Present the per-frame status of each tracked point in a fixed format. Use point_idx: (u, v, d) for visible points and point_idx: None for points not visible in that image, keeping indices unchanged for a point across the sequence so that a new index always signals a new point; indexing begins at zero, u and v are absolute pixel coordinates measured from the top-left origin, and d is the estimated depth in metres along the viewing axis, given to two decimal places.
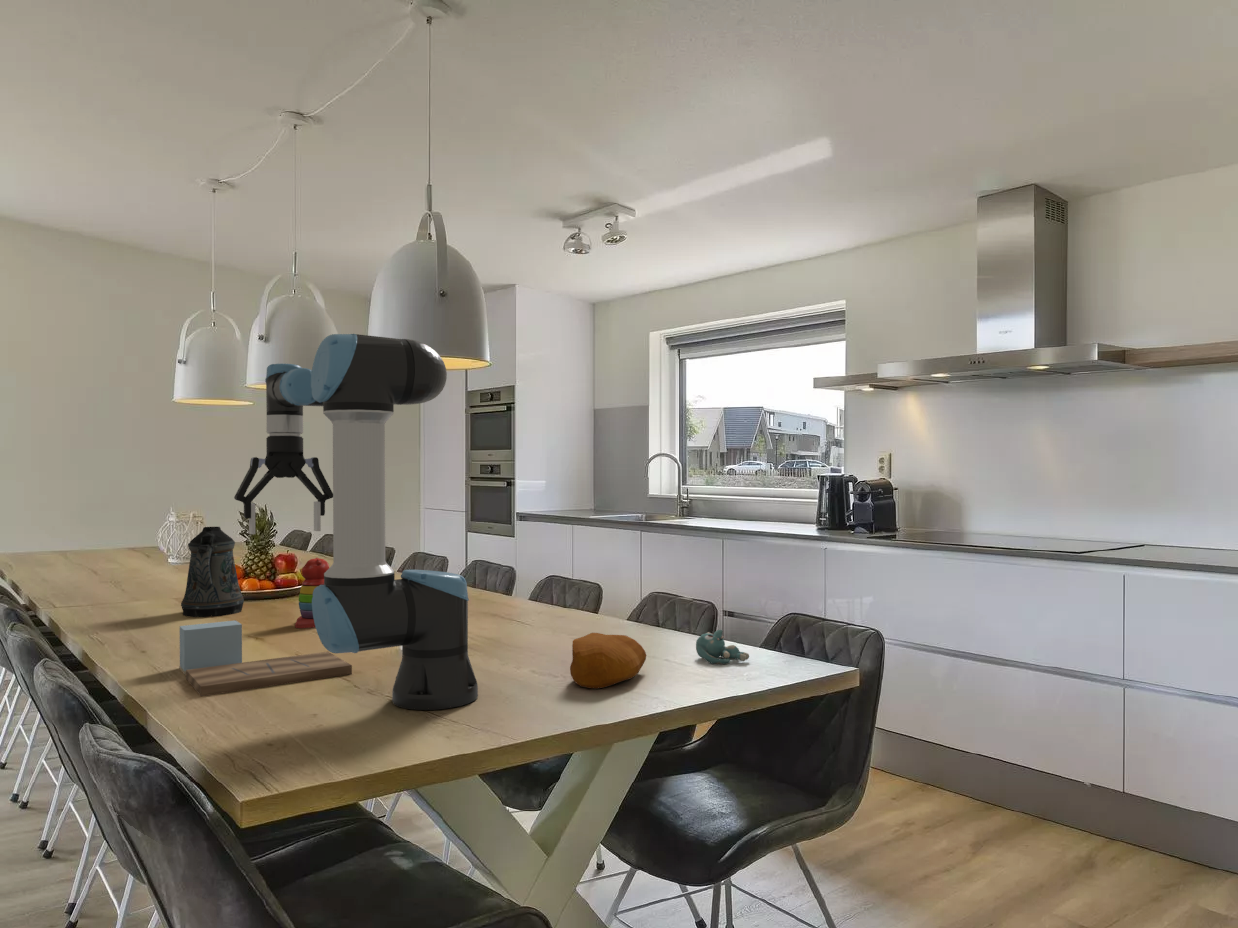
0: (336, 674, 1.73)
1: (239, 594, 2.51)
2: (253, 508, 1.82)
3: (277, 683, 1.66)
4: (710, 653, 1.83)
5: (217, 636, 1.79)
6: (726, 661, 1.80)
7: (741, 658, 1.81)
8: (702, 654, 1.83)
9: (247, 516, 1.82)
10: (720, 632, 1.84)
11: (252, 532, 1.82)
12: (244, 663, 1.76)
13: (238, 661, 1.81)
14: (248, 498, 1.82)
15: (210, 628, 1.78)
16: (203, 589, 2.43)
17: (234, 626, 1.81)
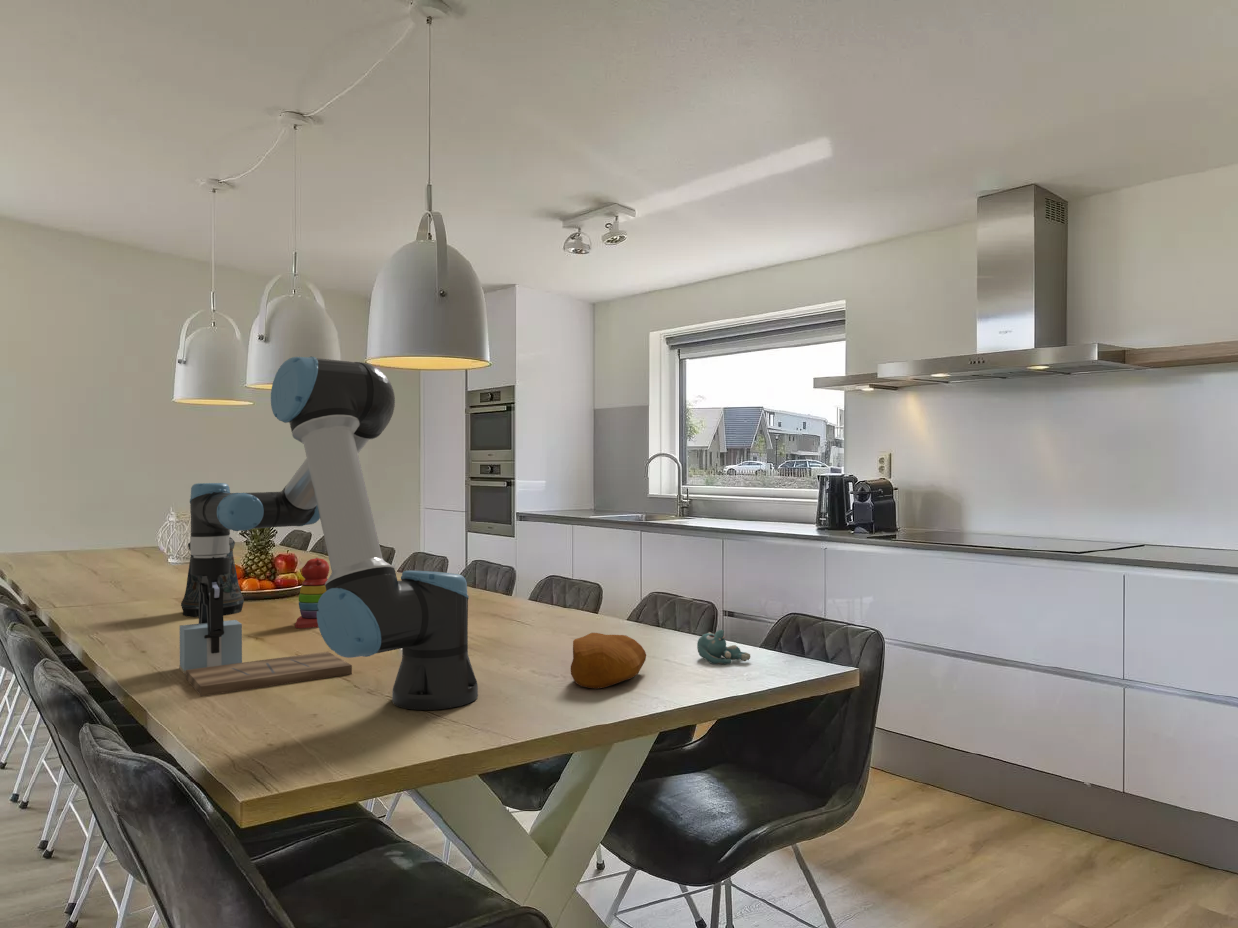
0: (336, 674, 1.73)
1: (239, 594, 2.51)
2: None
3: (277, 683, 1.66)
4: (711, 653, 1.83)
5: None
6: (727, 661, 1.80)
7: (742, 658, 1.81)
8: (703, 654, 1.83)
9: None
10: (721, 632, 1.84)
11: None
12: (244, 663, 1.76)
13: (238, 661, 1.81)
14: None
15: None
16: None
17: (234, 626, 1.81)
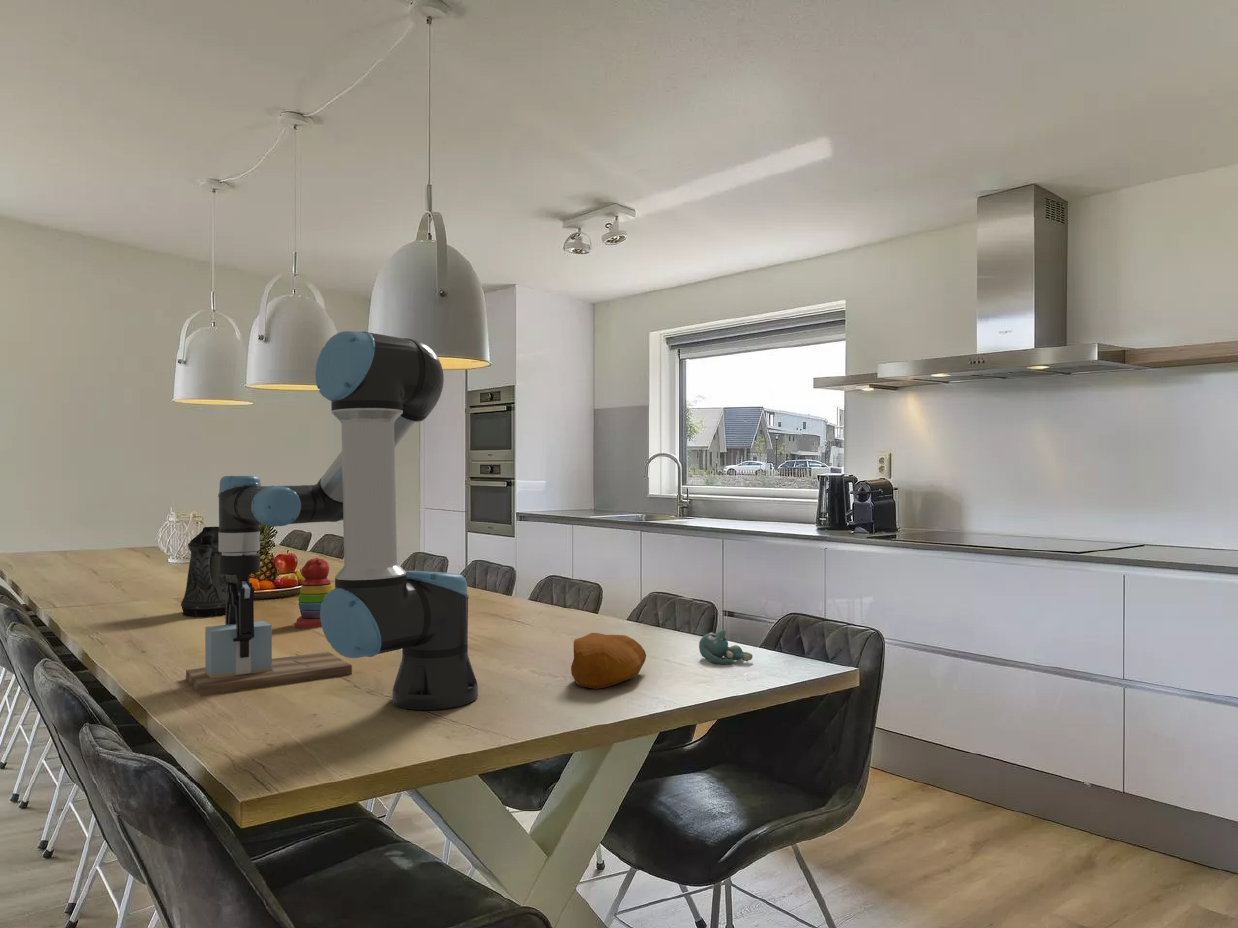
0: (336, 674, 1.73)
1: None
2: None
3: (277, 683, 1.66)
4: (713, 653, 1.83)
5: None
6: (729, 661, 1.80)
7: (744, 658, 1.81)
8: (705, 654, 1.83)
9: None
10: (723, 632, 1.84)
11: None
12: None
13: (268, 664, 1.70)
14: None
15: None
16: (203, 589, 2.43)
17: (263, 627, 1.69)
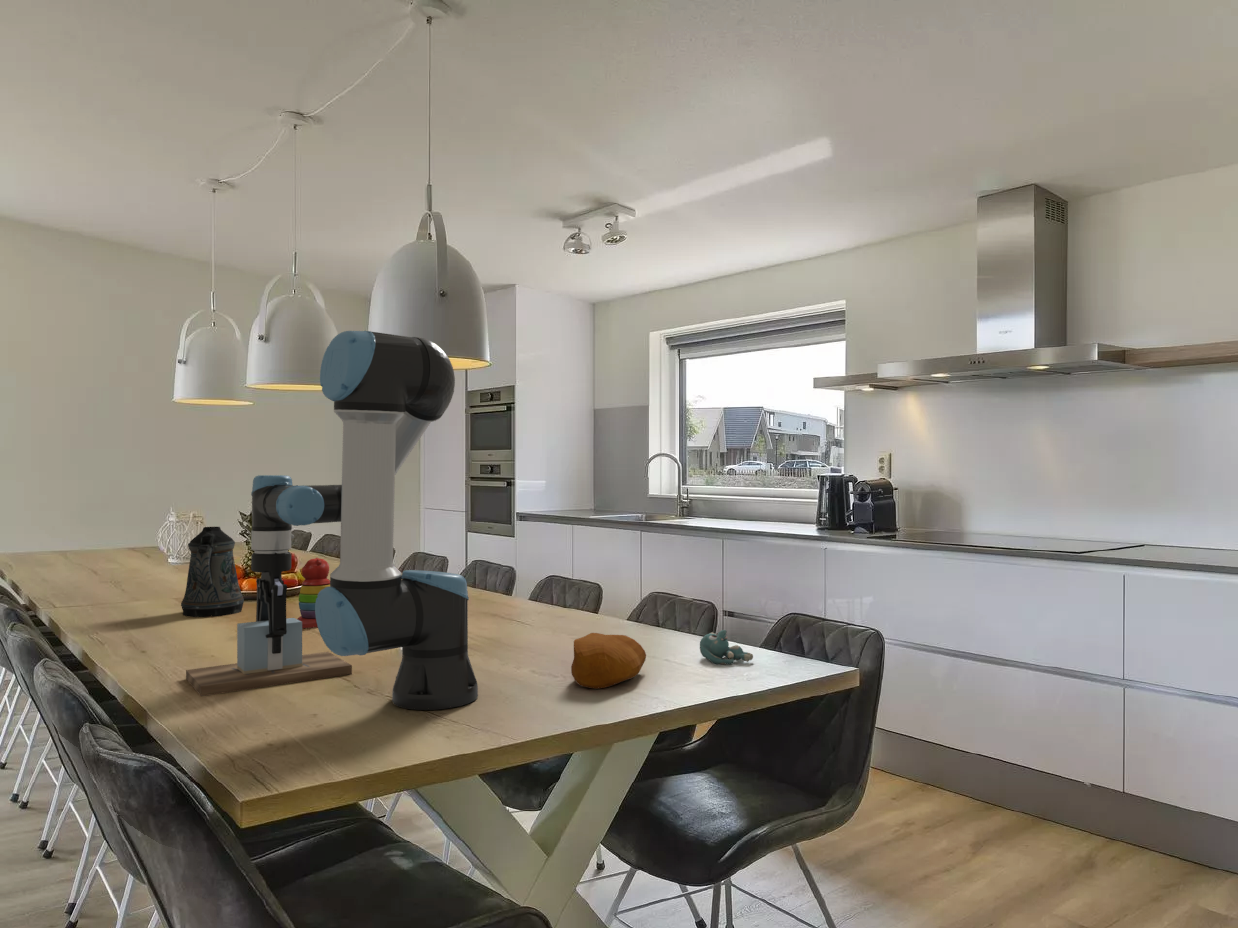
0: (336, 674, 1.73)
1: (239, 594, 2.51)
2: None
3: (277, 683, 1.66)
4: (714, 653, 1.83)
5: None
6: (730, 661, 1.80)
7: (745, 658, 1.81)
8: (706, 654, 1.83)
9: None
10: (724, 632, 1.84)
11: None
12: None
13: (298, 660, 1.73)
14: None
15: None
16: (203, 589, 2.43)
17: (294, 624, 1.73)
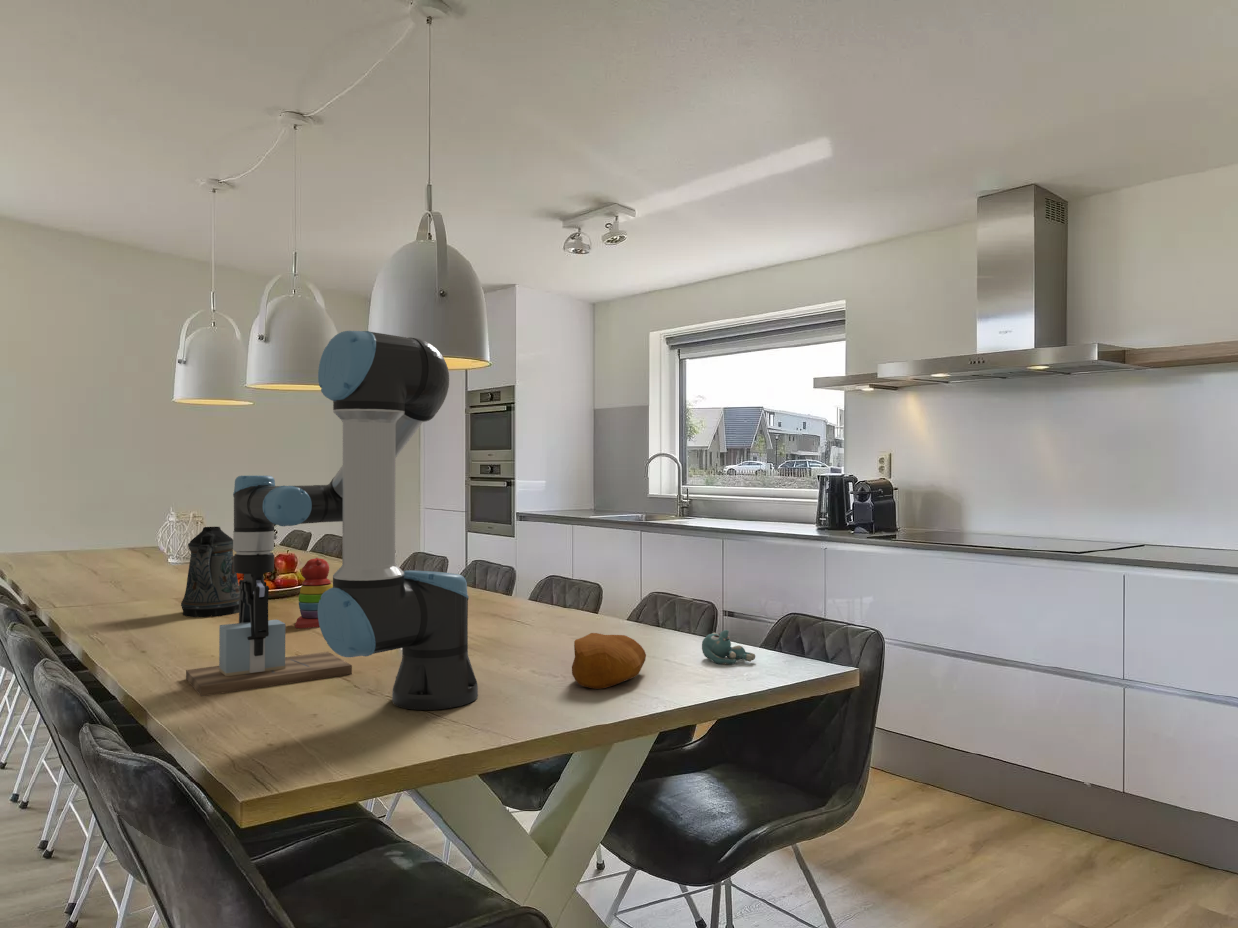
0: (336, 674, 1.73)
1: (239, 594, 2.51)
2: None
3: (277, 683, 1.66)
4: (716, 653, 1.83)
5: None
6: (732, 661, 1.80)
7: (747, 658, 1.80)
8: (708, 654, 1.83)
9: None
10: (726, 632, 1.84)
11: None
12: None
13: (281, 663, 1.71)
14: None
15: None
16: (203, 589, 2.43)
17: (277, 625, 1.71)
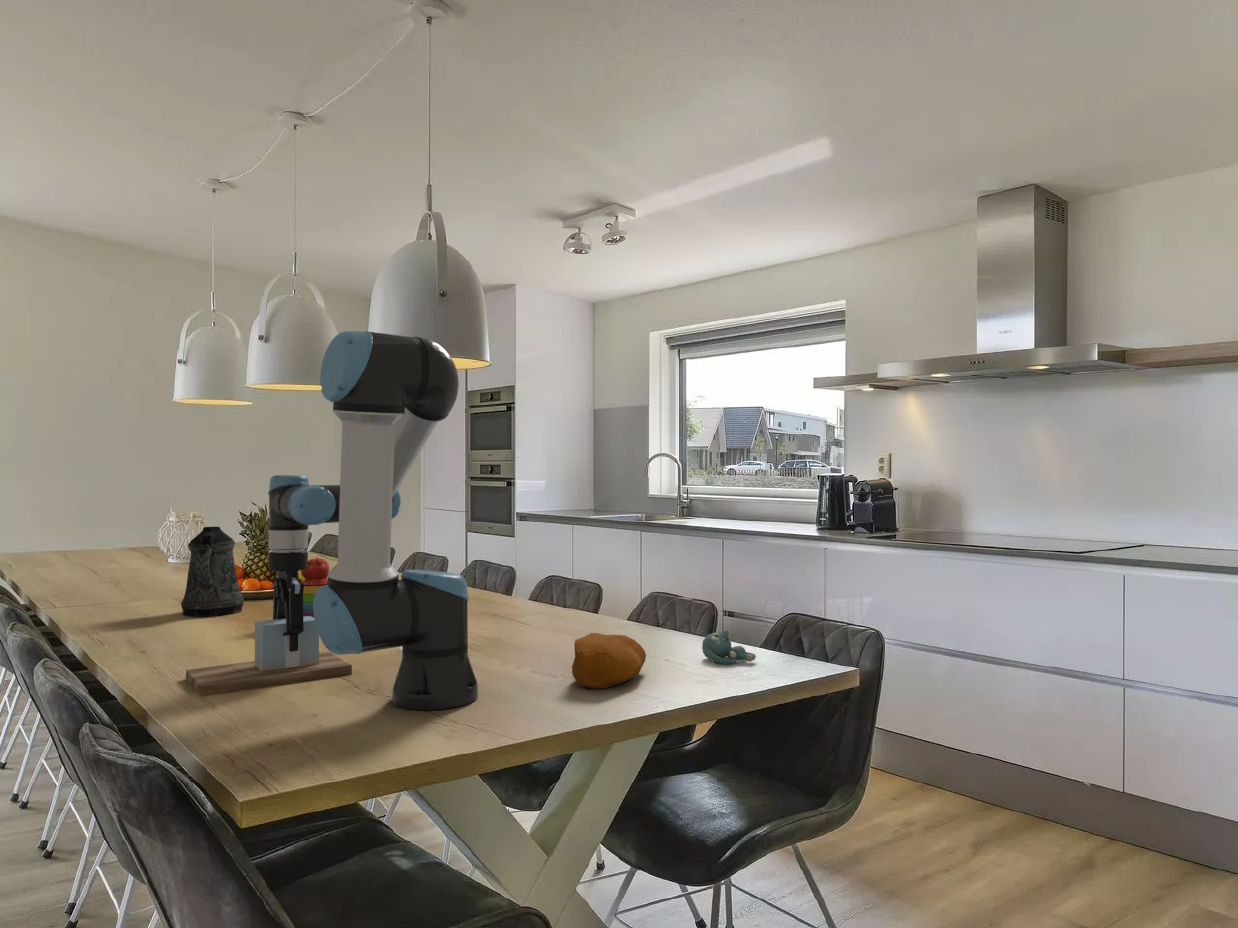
0: (336, 674, 1.73)
1: (239, 594, 2.51)
2: None
3: (277, 683, 1.66)
4: (716, 653, 1.83)
5: None
6: (733, 661, 1.80)
7: (748, 659, 1.80)
8: (708, 654, 1.83)
9: None
10: (726, 632, 1.84)
11: None
12: (244, 663, 1.76)
13: (315, 658, 1.75)
14: None
15: None
16: (203, 589, 2.43)
17: (311, 622, 1.75)
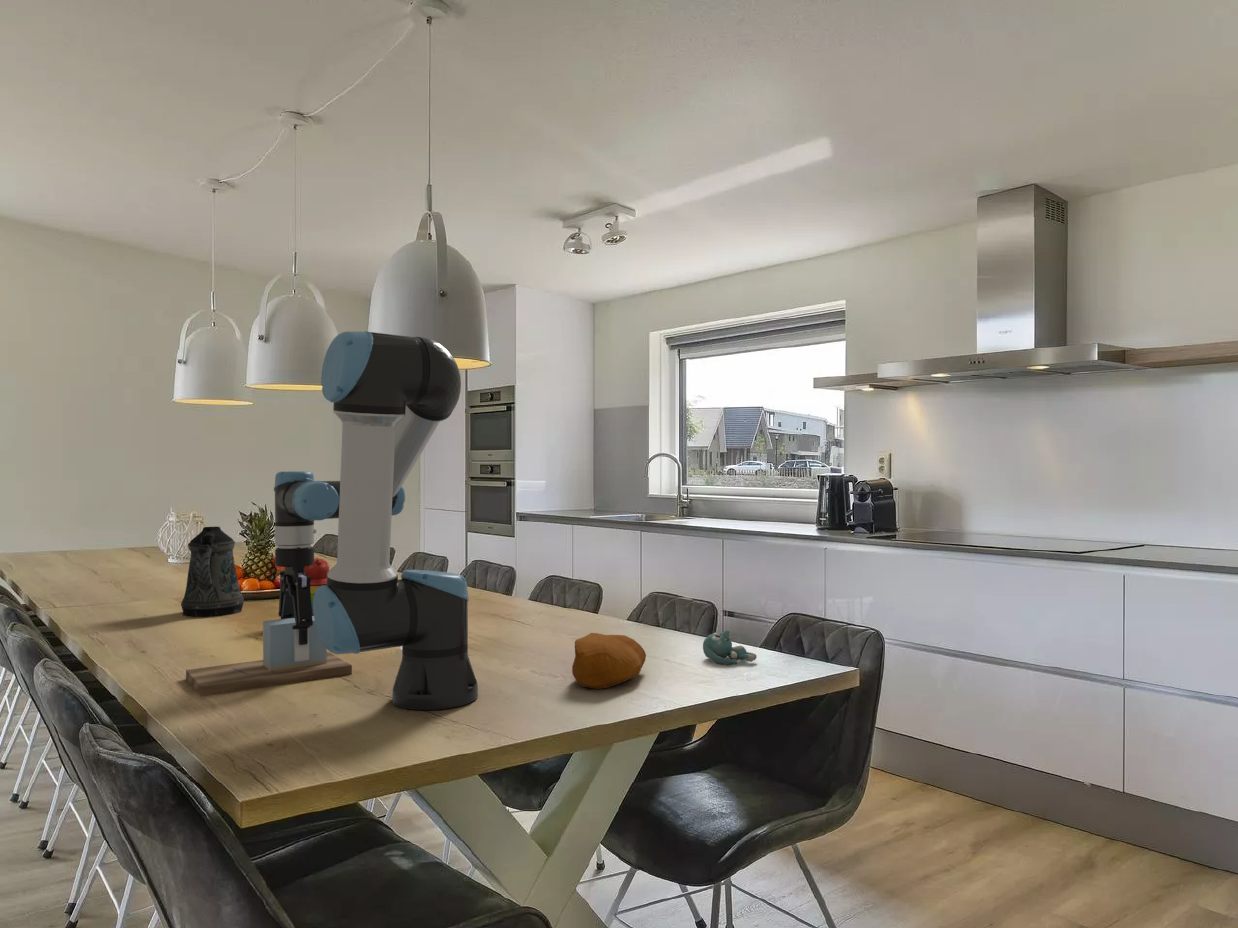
0: (336, 674, 1.73)
1: (239, 594, 2.51)
2: None
3: (277, 683, 1.66)
4: (717, 654, 1.83)
5: None
6: (734, 662, 1.80)
7: (749, 659, 1.80)
8: (709, 655, 1.83)
9: None
10: (727, 632, 1.84)
11: None
12: (244, 663, 1.76)
13: (323, 657, 1.76)
14: (281, 615, 1.80)
15: (295, 623, 1.73)
16: (203, 589, 2.43)
17: None
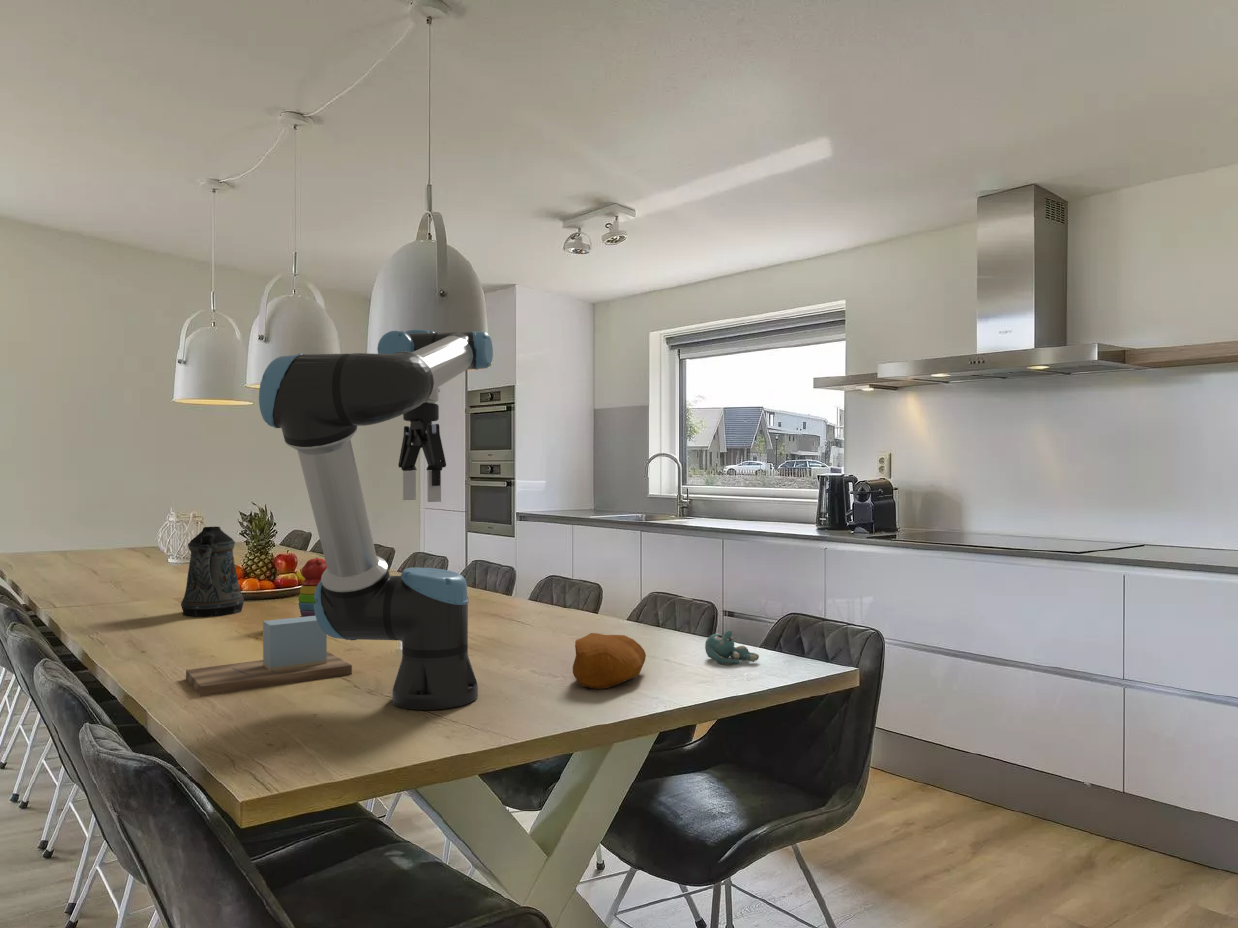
0: (336, 674, 1.73)
1: (239, 594, 2.51)
2: (403, 475, 1.90)
3: (277, 683, 1.66)
4: (720, 654, 1.83)
5: (302, 632, 1.73)
6: (736, 662, 1.80)
7: (751, 659, 1.80)
8: (712, 655, 1.82)
9: None
10: (730, 633, 1.84)
11: (403, 498, 1.90)
12: (244, 663, 1.76)
13: (323, 657, 1.76)
14: (402, 465, 1.91)
15: (295, 623, 1.73)
16: (203, 589, 2.43)
17: None
